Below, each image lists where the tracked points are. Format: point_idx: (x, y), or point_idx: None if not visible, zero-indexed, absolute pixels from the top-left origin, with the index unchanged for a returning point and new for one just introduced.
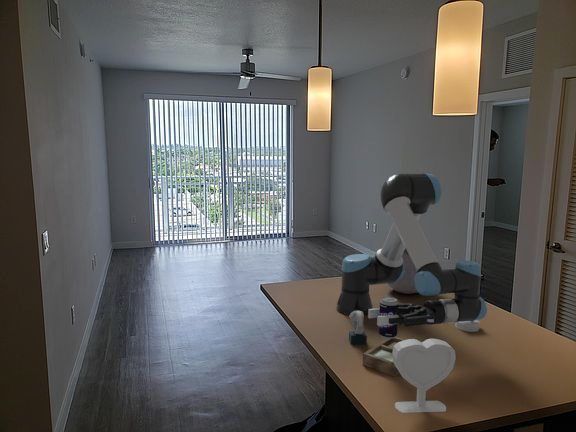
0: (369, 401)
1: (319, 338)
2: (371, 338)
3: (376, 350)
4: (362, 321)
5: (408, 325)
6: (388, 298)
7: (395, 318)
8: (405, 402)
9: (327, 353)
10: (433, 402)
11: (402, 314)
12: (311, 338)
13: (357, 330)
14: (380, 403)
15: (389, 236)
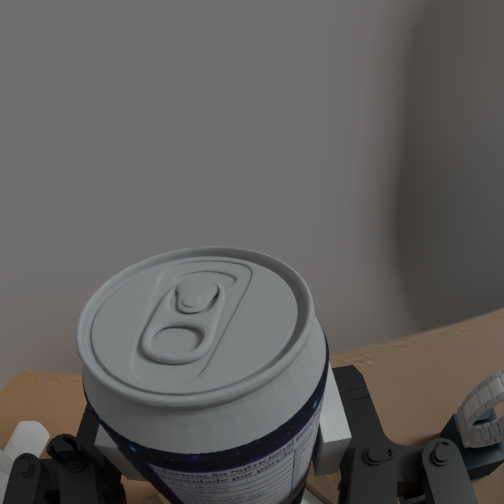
0: (81, 388)
1: (457, 350)
2: (499, 499)
3: (317, 495)
4: (478, 410)
5: (43, 501)
6: (248, 314)
7: (96, 422)
8: (32, 446)
9: (360, 364)
10: (2, 500)
11: (49, 452)
12: (451, 333)
13: (457, 419)
14: (64, 404)
15: None
